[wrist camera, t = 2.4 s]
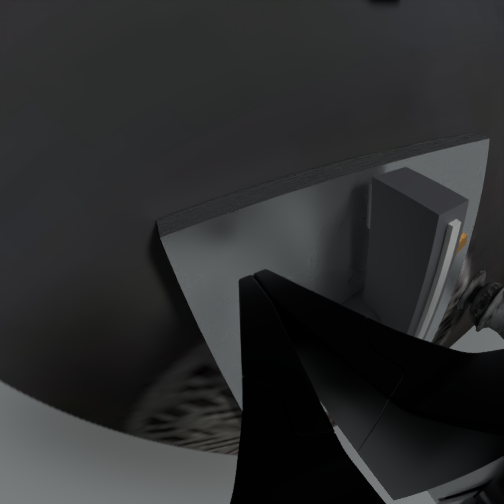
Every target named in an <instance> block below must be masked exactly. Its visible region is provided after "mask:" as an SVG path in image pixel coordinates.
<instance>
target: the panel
mask: <svg viewBox="0 0 504 504" xmlns="http://www.w3.org/2000/svg"><path fill="white" fill-rule="evenodd" d="M488 148H489V138H487V137H484V136H482V135H480V134H477V133H474V132H473V133H468V134H462V135H456V136H451V137H446V138H441V139H436V140H431V141H426V142H421V143H416V144H412V145H407V146H402V147H398V148H394V149H389V150H385V151H381V152H377V153H372V154H368V155H364V156H360V157H356V158H352V159H349V160H345V161H341V162H337V163H333V164H330V165H326V166H322V167H319V168H315V169H311V170H308V171H304V172H301V173H297V174H294V175H291V176H287V177H284V178H280V179H277V180H274V181H270V182H267V183H264V184H261V185H258V186H254V187H251V188H248V189H245V190H242V191H239V192H236V193H233V194H230V195H227V196H224V197H221V198H218V199H215V200H212V201H209V202H206V203H203V204H200V205H197V206H194V207H191V208H189V209H186V210H183V211H180V212H177V213H175V214H172V215H169V216H166V217H164V218H161V219H158V220H157V225H158V230H159V235H160V239H161V241H162V244H163V246H164V249H165V251H166V253H167V256H168V258H169V261H170V263H171V265H172V268H173V270H174V273H175V275H176V277H177V280H178V282H179V284H180V286H181V289H182V291H183V293H184V295H185V298H186V300H187V302H188V304H189V307H190V309H191V311H192V313H193V315H194V317H195V320H196V322H197V324H198V326H199V328H200V330H201V332H202V334H203V336H204V338H205V340H206V343H207V345H208V347H209V349H210V351H211V353H212V355H213V357H214V359H215V361H216V363H217V365H218V367H219V369H220V370H221V372H222V374H223V376H224V378H225V380H226V382H227V384H228V386H229V388H230V389H231V391H232V393H233V395H234V397H235V399H236V401H237V402H238V404H239V406H240V408H241V410H242V369H241V344H240V317H239V286H238V281H239V279H240V278H243V277H245V276H248V275H253V274H254V273H256V272H258V271H261V270H263V269H268V270H270V271H272V272H274V273H276V274H278V275H280V276H283V277H285V278H287V279H289V280H291V281H293V282H295V283H297V284H299V285H301V286H303V287H305V288H308V289H310V290H312V291H314V292H316V293H318V294H320V295H322V296H324V297H326V298H328V299H331V300H333V301H335V302H337V303H339V304H342V303H343V302H344V301H346V300H347V299H348V298H349V297H351V296H352V295H353V294H355V293H356V292H358V291H359V290H361V289H362V288H364V286H365V278H366V269H367V259H368V248H369V236H370V221H371V200H372V177H373V176H376V175H380V174H383V173H386V172H390V171H393V170H397V169H400V168H403V167H407V168H410V169H412V170H414V171H416V172H418V173H420V174H422V175H424V176H426V177H428V178H430V179H432V180H434V181H436V182H438V183H440V184H441V185H443V186H445V187H447V188H449V189H451V190H453V191H454V192H456V193H458V194H460V195H461V196H463V197H465V198H467V199H468V200H469V203H468V208H467V213H466V217H465V222H464V226H463V230H462V234H461V238H460V242H459V245H458V249H457V252H456V256H455V259H454V262H453V266H452V269H451V272H450V275H449V278H448V281H447V284H446V287H445V290H444V293H443V295H442V298H441V301H440V303H439V306H438V309H437V311H436V314H435V316H434V319H433V321H432V324H431V326H430V328H429V331H428V333H427V335H426V338H425V340H426V341H429V342H432V340H433V338H434V335H435V333H436V331H437V329H438V327H439V325H440V322H441V320H442V318H443V315H444V313H445V311H446V308H447V306H448V303H449V301H450V298H451V296H452V293H453V290H454V288H455V285H456V282H457V280H458V277H459V274H460V271H461V268H462V265H463V262H464V259H465V256H466V252H467V249H468V246H469V242H470V239H471V235H472V231H473V228H474V224H475V220H476V216H477V211H478V207H479V202H480V198H481V193H482V188H483V182H484V176H485V170H486V164H487V156H488ZM320 402H321V401H320ZM321 404H322V403H321ZM322 406H323V404H322ZM323 408H324V410H325V412H327V410H326V408H325V407H324V406H323Z"/></svg>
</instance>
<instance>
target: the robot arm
mask: <svg viewBox="0 0 504 504" xmlns="http://www.w3.org/2000/svg"><path fill="white" fill-rule="evenodd" d="M238 286H239V317H240V344H241V369H242V421H241V433H240V442H239V451H238V460H237V469H236V477H235V483H234V489H233V493H232V498H231V502H230V504H386V503H385V502H384V501H383V500H382V498H381V497H380V496H379V495H378V493H377V492H376V491H375V490H374V488H373V487H372V486H371V485H370V483H369V482H368V481H367V480H366V478H365V477H364V476H363V474H362V473H361V472H360V471H359V469H358V468H357V467H356V466H355V464H354V463H353V462H352V461H351V459H350V458H349V456H348V455H347V454H346V452H345V451H344V449H343V447H342V445H341V443H340V441H339V440H338V438H337V436H336V434H335V433H334V429H333V427H332V425H331V423H330V421H329V419H328V417H327V414H326V412H325V410H324V408H323V406H324V407H325V408H326V410H327V411H328V413H329V414H330V415H331V417H332V418H333V420H334V421H335V422H336V424H337V425H338V427H339V428H340V429H341V430H342V432H343V433H344V435H345V436H346V438H347V439H348V440H349V442H350V443H351V444H352V446H353V447H354V449H355V450H356V451H357V452H358V454H359V455H360V457H361V458H362V459H363V461H364V462H365V464H366V465H367V466H368V467H369V469H370V470H371V471H372V473H373V474H374V476H375V477H376V478H377V479H378V481H379V482H380V483H381V485H382V486H383V487H384V489H385V490H386V491H387V493H388V494H389V495H390V496H391V498H392V499H393V500H397V499H401V498H404V497H408V496H411V495H414V494H417V493H420V492H423V491H426V490H427V491H428V492H429V494H430V495H431V497H432V498H433V499H434V501H435V502H436V504H504V349H501V350H495V351H488V352H481V353H466V352H461V351H457V350H453V349H450V348H447V347H444V346H441V345H438V344H435V343H432V342H429V341H426V340H423V339H420V338H417V337H414V336H411V335H409V334H406V333H403V332H401V331H398V330H395V329H393V328H391V327H388V326H386V325H384V324H382V323H379V322H377V321H375V320H373V319H371V318H369V317H368V318H367V319H366V316H364V315H362V314H360V313H358V312H356V311H354V310H352V309H349V308H347V307H345V306H343V305H341V304H339V303H337V302H335V301H333V300H331V299H328V298H326V297H324V296H322V295H320V294H318V293H316V292H314V291H312V290H310V289H308V288H305V287H303V286H301V285H299V284H297V283H295V282H293V281H291V280H289V279H287V278H285V277H283V276H280V275H278V274H276V273H274V272H272V271H270V270H268V269H263V270H261V271H258V272H256V273H254V274H253V275H248V276H245V277H243V278H240V279H239V281H238ZM320 401H321V402H320ZM321 403H322V404H323V406H322V404H321Z"/></svg>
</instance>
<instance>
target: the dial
mask: <svg viewBox="0 0 504 504" xmlns="http://www.w3.org/2000/svg"><path fill="white" fill-rule="evenodd" d="M468 203H469V200H468V199H467V198H465V197H463V196H461V195H460V194H458V193H456V192H454V191H453V190H451V189H449V188H447V187H445V186H443V185H441V184H440V183H438V182H436V181H434V180H432V179H430V178H428V177H426V176H424V175H422V174H420V173H418V172H416V171H414V170H412V169H410V168H407V167H403V168H400V169H397V170H393V171H390V172H386V173H383V174H380V175H376V176H373V177H372V200H371V221H370V236H369V248H368V259H367V269H366V278H365V286H364V288H362V289H361V290H359V291H358V292H356V293H355V294H353V295H352V296H351V297H349V298H348V299H347V300H346V301H344V302H343V303H342V304H341V305H343V306H345V307H347V308H349V309H352V310H354V311H356V312H358V313H360V314H362V315H364V316H366V319H367V318H368V317H369V318H371V319H373V320H375V321H377V322H379V323H382V324H384V325H386V326H388V327H391V328H393V329H395V330H398V331H401V332H403V333H406V334H409V335H411V336H414V337H417V338H420V339H423V340H425V338H426V335H427V333H428V331H429V328H430V326H431V324H432V321H433V319H434V316H435V314H436V311H437V309H438V306H439V303H440V301H441V298H442V295H443V293H444V290H445V287H446V284H447V281H448V278H449V275H450V272H451V269H452V266H453V262H454V259H455V256H456V252H457V249H458V245H459V242H460V238H461V234H462V230H463V226H464V222H465V217H466V213H467V208H468Z"/></svg>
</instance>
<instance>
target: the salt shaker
mask: <svg viewBox="0 0 504 504" xmlns="http://www.w3.org/2000/svg"><path fill="white" fill-rule="evenodd" d="M485 275H486V272H485V270H481V271H480V272H479V273H477V274H476V275H475V277H474V278H473V279H472V280H471V282H470V283H469V284H468V286H467V287H466V289H465V290H464V292H463V294H462V296H461V298H460V300H459V302H458V305H457V309H458V310H459V311H460V310H463V309H466V308H467V307H469V306H470V305H471V307H470V318H471V321H472V323H473V324H474V325H475V326H476V331H477V332H478V331H480V330H481V329H483V328H487V327H489V328H491V329H493V330H494V331H496V332H497V333H498V334H499V335H500V336H501V337H502V338H503V339H504V286H502V285H501V284H499V283H496V282H491V283H487V284H486V285H485V286H484V287H483V285H484V283H485V279H486V277H485Z"/></svg>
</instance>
